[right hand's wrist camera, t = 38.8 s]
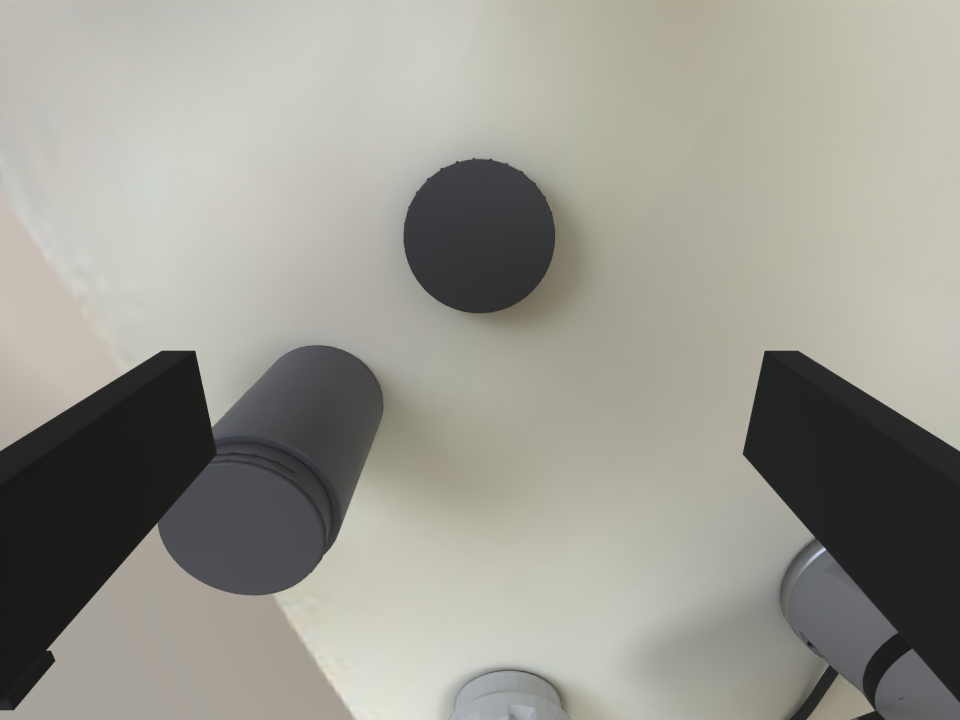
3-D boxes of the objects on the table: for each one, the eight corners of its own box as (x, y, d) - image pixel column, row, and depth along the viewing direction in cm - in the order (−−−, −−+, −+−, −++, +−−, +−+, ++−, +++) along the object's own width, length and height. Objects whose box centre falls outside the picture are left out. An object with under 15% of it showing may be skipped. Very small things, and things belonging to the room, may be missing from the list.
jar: (406, 388, 41) (365, 516, 27) (345, 471, 44) (278, 627, 29) (300, 321, 39) (194, 420, 24) (243, 412, 42) (118, 549, 27)
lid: (504, 126, 34) (505, 124, 32) (577, 258, 37) (583, 264, 35) (378, 211, 36) (371, 215, 34) (458, 330, 39) (456, 340, 37)
